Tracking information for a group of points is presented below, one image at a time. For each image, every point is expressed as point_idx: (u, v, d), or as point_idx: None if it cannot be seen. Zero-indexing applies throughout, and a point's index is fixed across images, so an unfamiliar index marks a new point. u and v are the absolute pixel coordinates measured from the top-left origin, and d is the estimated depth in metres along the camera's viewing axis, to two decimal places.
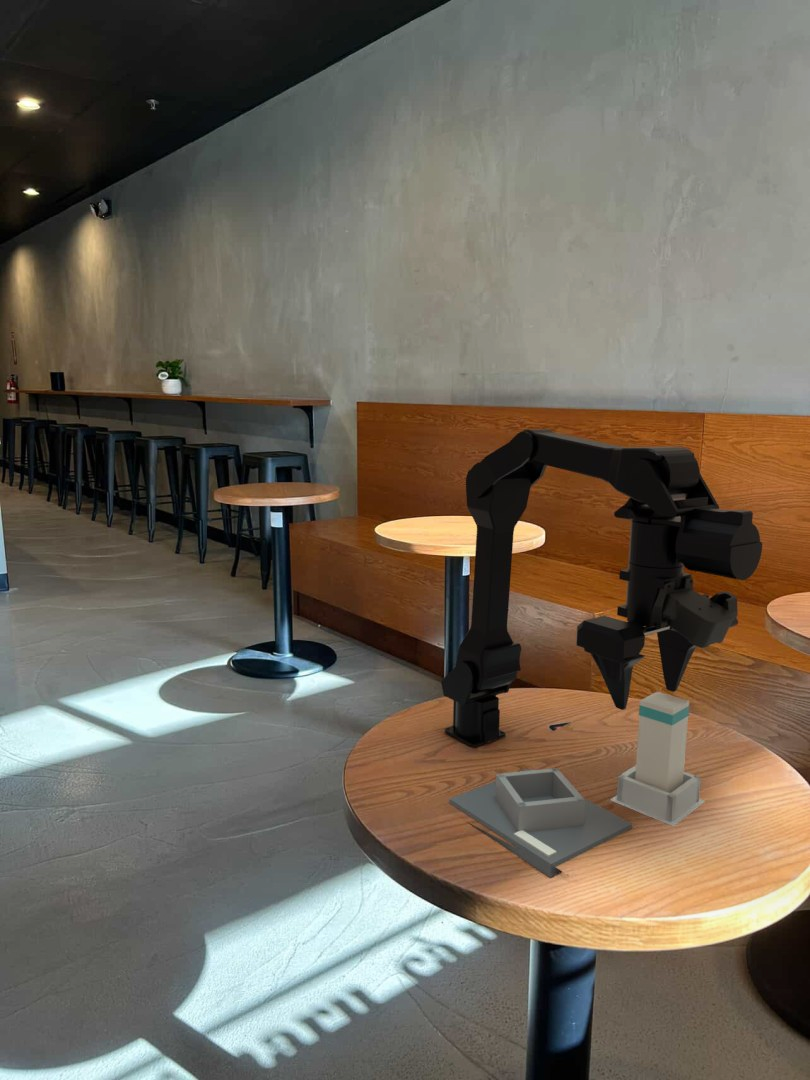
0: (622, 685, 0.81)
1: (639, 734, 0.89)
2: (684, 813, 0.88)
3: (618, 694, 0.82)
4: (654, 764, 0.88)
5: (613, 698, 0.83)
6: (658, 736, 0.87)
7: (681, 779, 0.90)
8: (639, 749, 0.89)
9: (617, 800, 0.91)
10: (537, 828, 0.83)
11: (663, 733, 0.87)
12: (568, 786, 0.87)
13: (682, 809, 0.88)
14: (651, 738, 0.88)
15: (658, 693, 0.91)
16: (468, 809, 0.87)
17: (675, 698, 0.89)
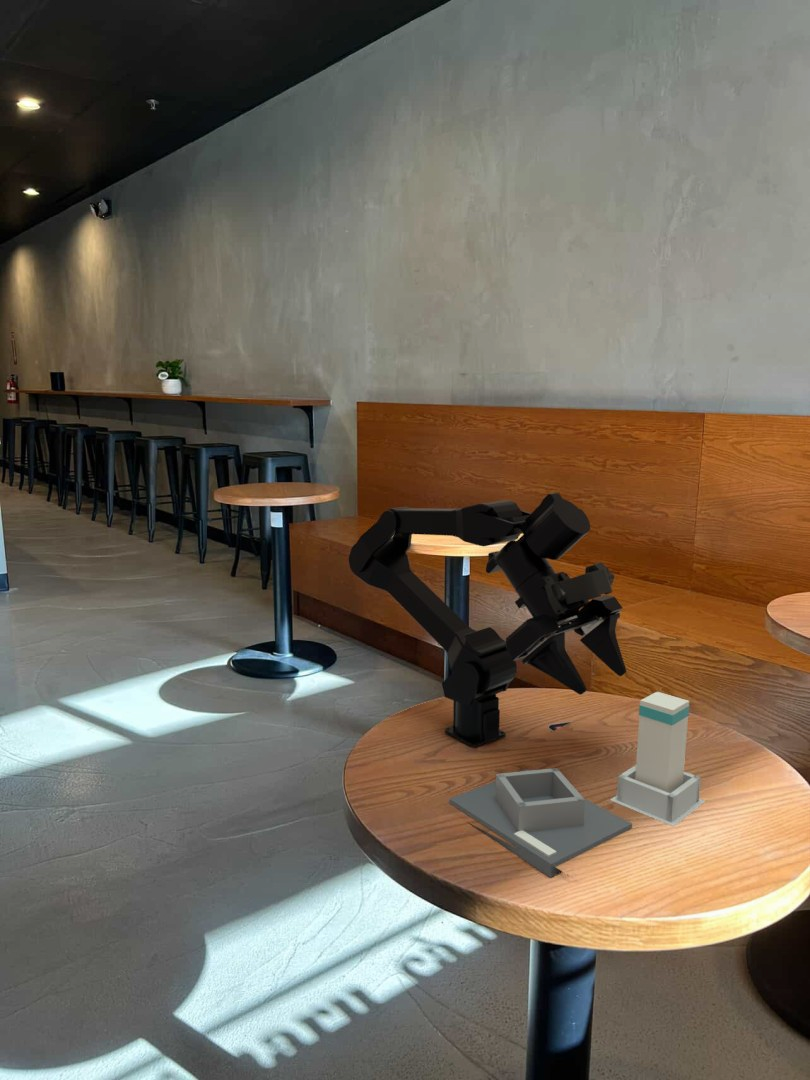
0: (568, 668, 0.91)
1: (639, 734, 0.89)
2: (684, 813, 0.88)
3: (572, 680, 0.91)
4: (654, 764, 0.88)
5: (572, 688, 0.91)
6: (658, 736, 0.87)
7: (681, 779, 0.90)
8: (639, 749, 0.89)
9: (617, 800, 0.91)
10: (537, 828, 0.83)
11: (663, 733, 0.87)
12: (568, 786, 0.87)
13: (682, 809, 0.88)
14: (651, 738, 0.88)
15: (658, 693, 0.91)
16: (468, 809, 0.87)
17: (675, 698, 0.89)
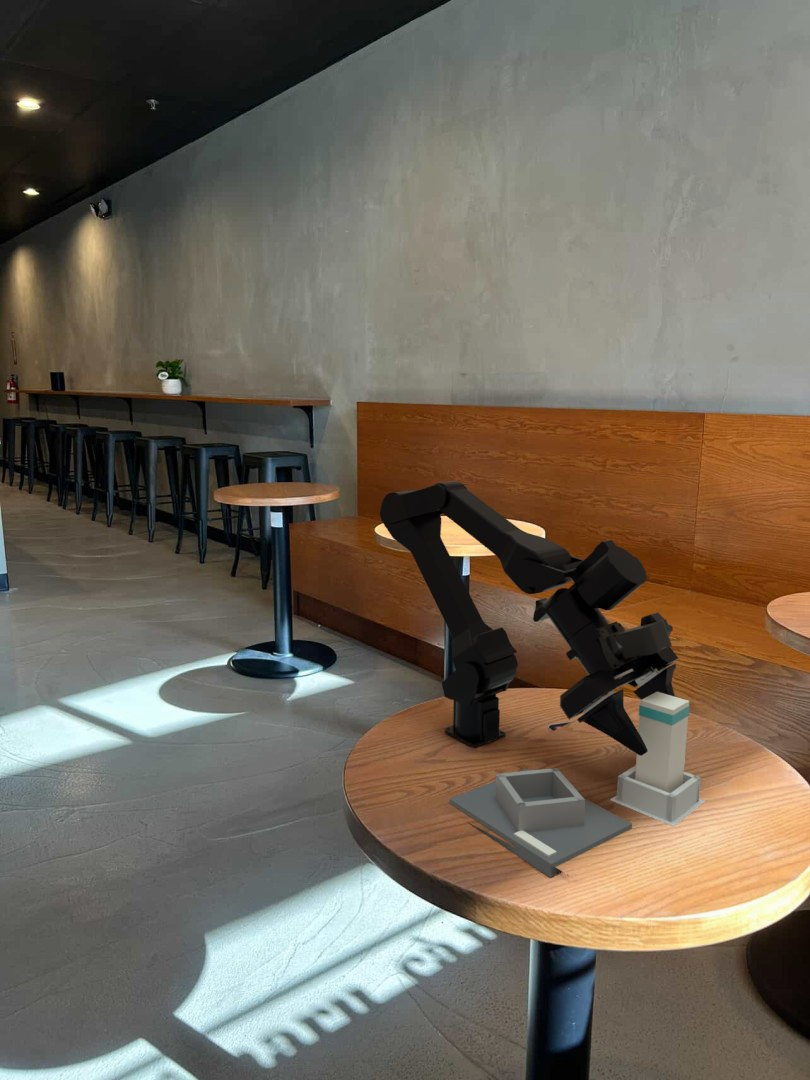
0: (627, 728, 0.86)
1: None
2: (684, 813, 0.88)
3: (632, 740, 0.86)
4: (654, 764, 0.88)
5: (632, 749, 0.86)
6: (658, 736, 0.87)
7: (681, 779, 0.90)
8: None
9: (617, 800, 0.91)
10: (537, 828, 0.83)
11: (663, 733, 0.87)
12: (568, 786, 0.87)
13: (682, 809, 0.88)
14: (651, 738, 0.88)
15: (658, 693, 0.91)
16: (468, 809, 0.87)
17: (675, 698, 0.89)
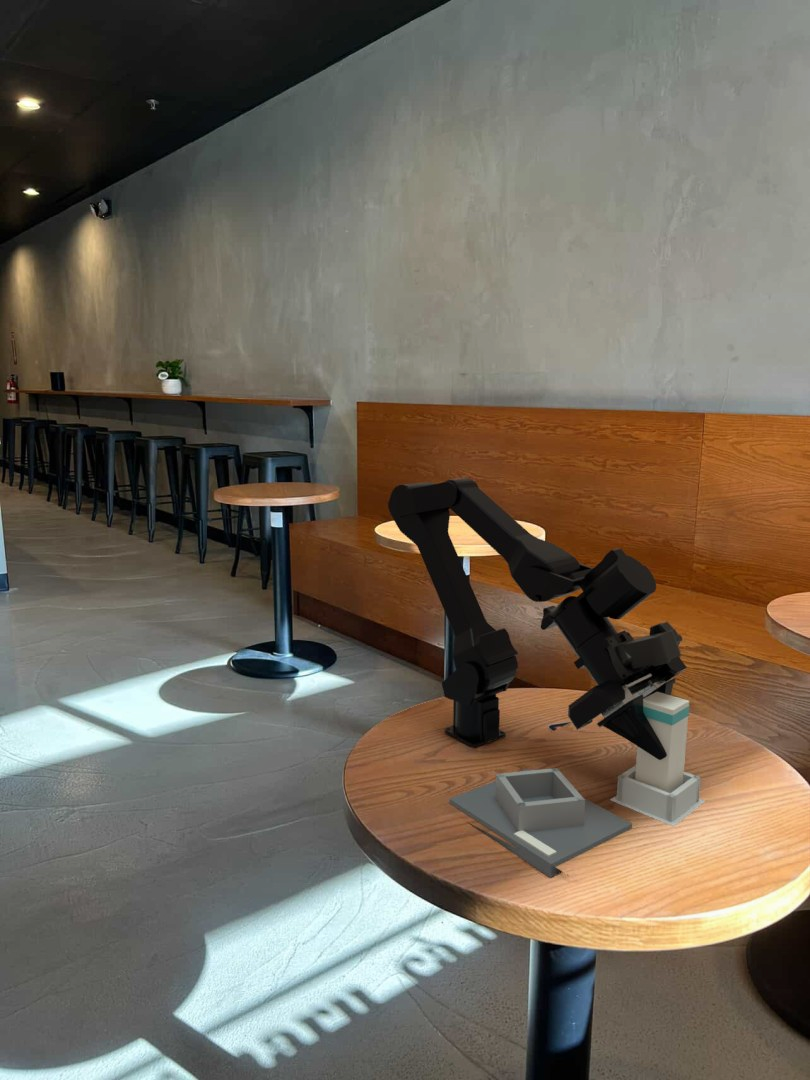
0: (647, 733, 0.87)
1: None
2: (684, 813, 0.88)
3: (651, 745, 0.87)
4: (654, 764, 0.88)
5: (651, 753, 0.88)
6: (658, 736, 0.87)
7: (681, 779, 0.90)
8: (639, 749, 0.89)
9: (617, 800, 0.91)
10: (537, 828, 0.83)
11: (663, 733, 0.87)
12: (568, 786, 0.87)
13: (682, 809, 0.88)
14: None
15: (658, 693, 0.91)
16: (468, 809, 0.87)
17: (675, 698, 0.89)
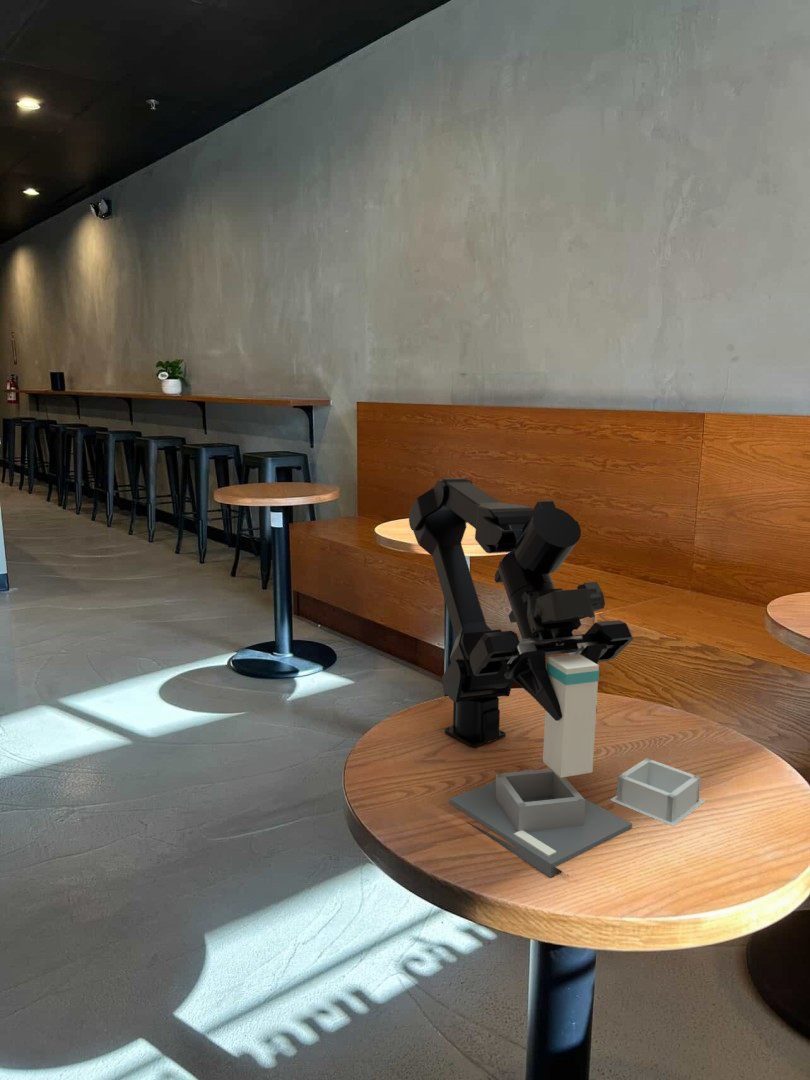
0: (544, 690, 0.84)
1: None
2: (684, 813, 0.88)
3: (548, 703, 0.84)
4: (555, 725, 0.84)
5: (549, 712, 0.84)
6: (558, 696, 0.84)
7: (590, 748, 0.84)
8: None
9: (617, 800, 0.91)
10: (537, 828, 0.83)
11: (561, 693, 0.83)
12: (568, 786, 0.87)
13: (682, 809, 0.88)
14: None
15: (577, 655, 0.86)
16: (468, 809, 0.87)
17: (587, 661, 0.84)
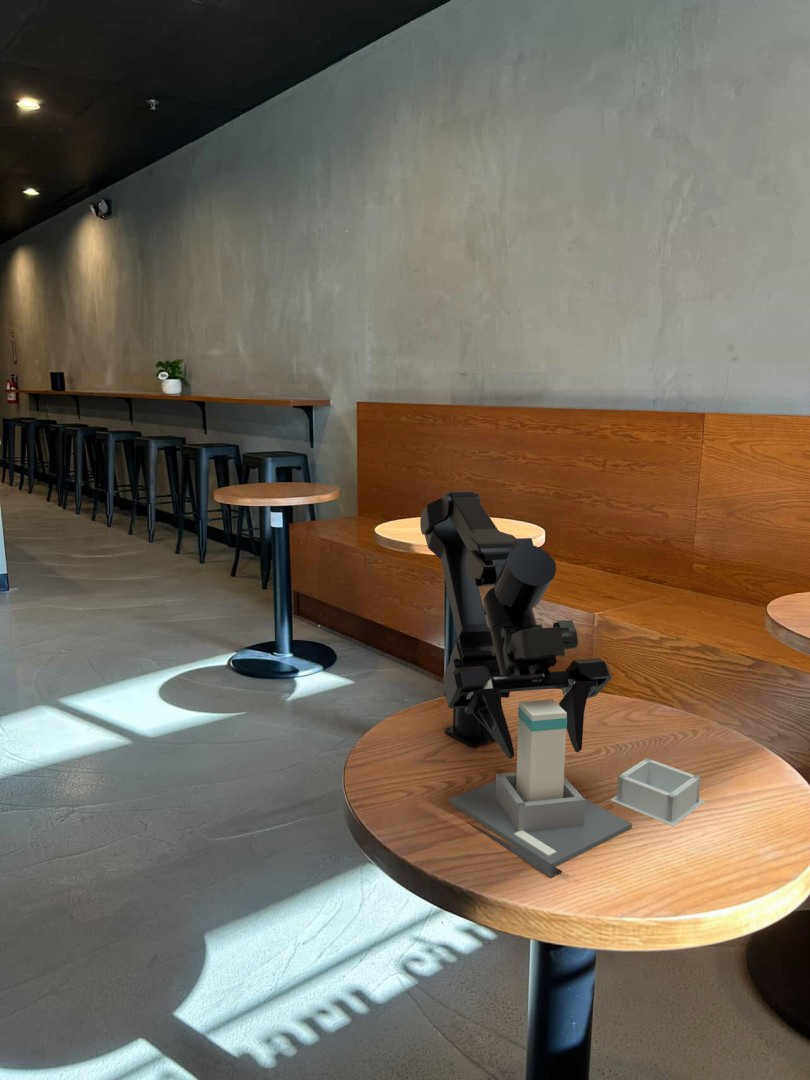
0: (497, 727, 0.84)
1: (518, 737, 0.87)
2: (684, 813, 0.88)
3: (502, 741, 0.84)
4: (524, 770, 0.85)
5: (503, 750, 0.85)
6: (526, 741, 0.85)
7: (559, 794, 0.85)
8: (518, 753, 0.87)
9: (617, 800, 0.91)
10: (537, 828, 0.83)
11: (528, 739, 0.84)
12: (568, 786, 0.87)
13: (682, 809, 0.88)
14: (523, 743, 0.86)
15: (549, 700, 0.87)
16: (468, 809, 0.87)
17: (557, 708, 0.85)
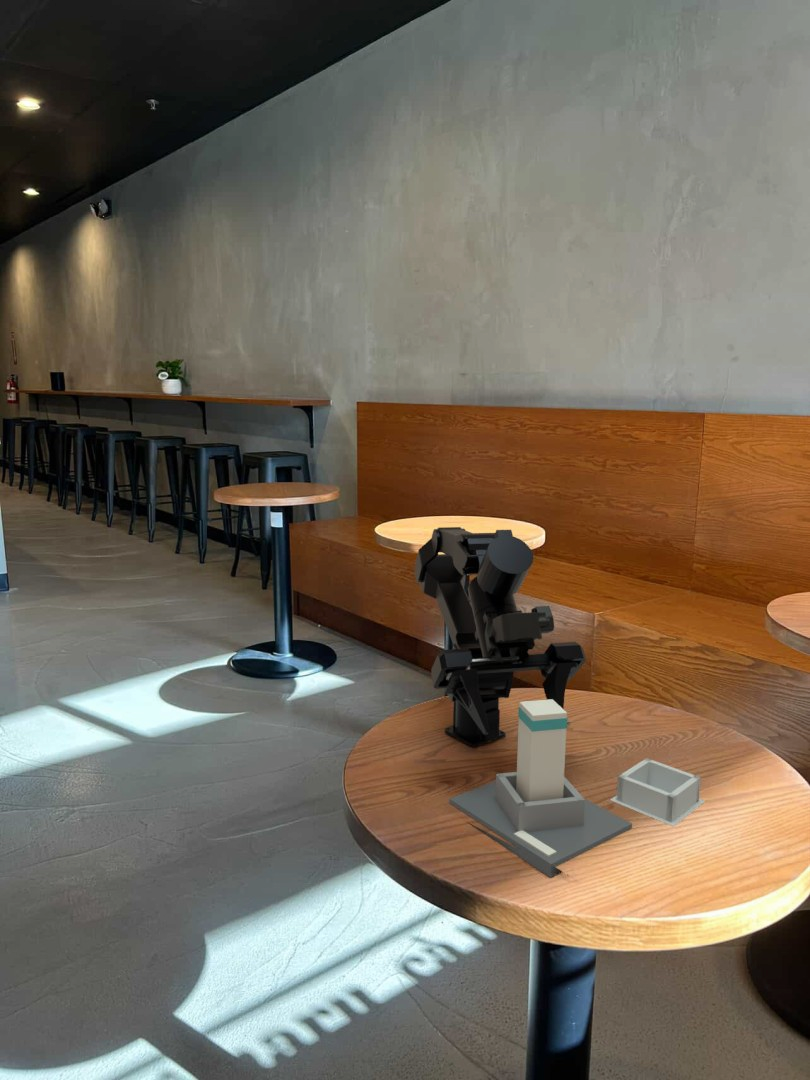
0: (474, 705, 0.91)
1: (518, 737, 0.87)
2: (684, 813, 0.88)
3: (478, 718, 0.91)
4: (524, 770, 0.85)
5: (479, 727, 0.91)
6: (526, 741, 0.85)
7: (559, 794, 0.85)
8: (518, 753, 0.87)
9: (617, 800, 0.91)
10: (537, 828, 0.83)
11: (528, 739, 0.84)
12: (568, 786, 0.87)
13: (682, 809, 0.88)
14: (523, 743, 0.86)
15: (550, 700, 0.87)
16: (468, 809, 0.87)
17: (557, 708, 0.85)
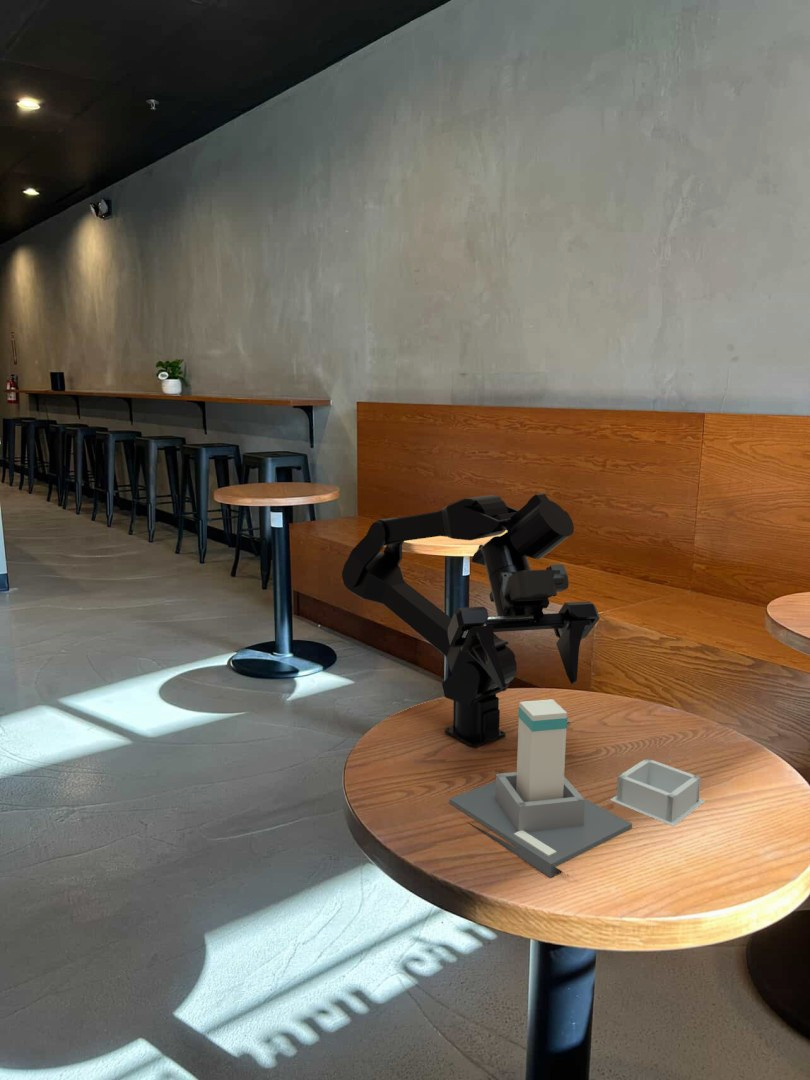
0: (490, 661, 0.93)
1: (518, 737, 0.87)
2: (684, 813, 0.88)
3: (494, 674, 0.92)
4: (524, 770, 0.85)
5: (496, 682, 0.93)
6: (526, 741, 0.85)
7: (559, 794, 0.85)
8: (518, 753, 0.87)
9: (617, 800, 0.91)
10: (537, 828, 0.83)
11: (528, 739, 0.84)
12: (568, 786, 0.87)
13: (682, 809, 0.88)
14: (523, 743, 0.86)
15: (550, 700, 0.87)
16: (468, 809, 0.87)
17: (557, 708, 0.85)
